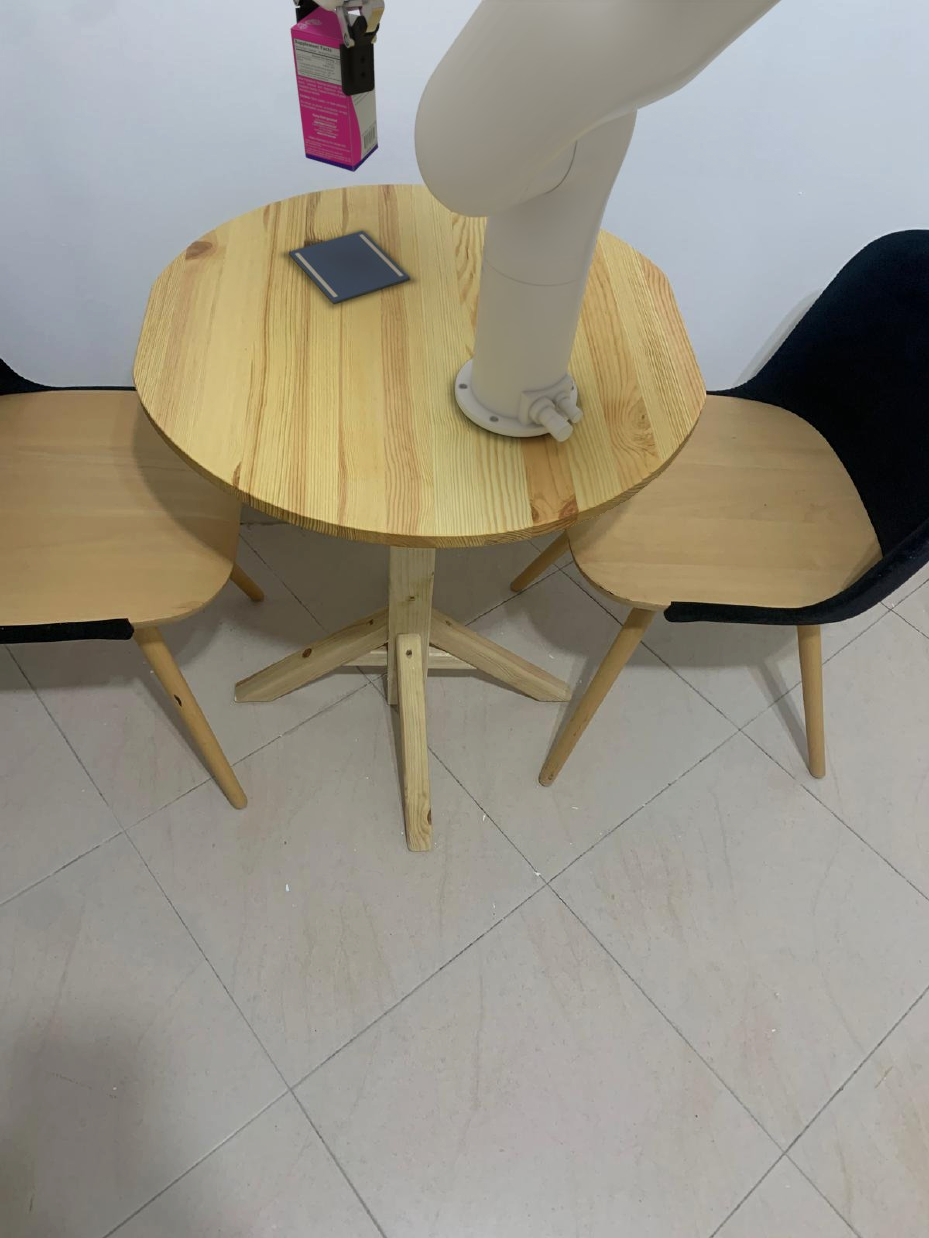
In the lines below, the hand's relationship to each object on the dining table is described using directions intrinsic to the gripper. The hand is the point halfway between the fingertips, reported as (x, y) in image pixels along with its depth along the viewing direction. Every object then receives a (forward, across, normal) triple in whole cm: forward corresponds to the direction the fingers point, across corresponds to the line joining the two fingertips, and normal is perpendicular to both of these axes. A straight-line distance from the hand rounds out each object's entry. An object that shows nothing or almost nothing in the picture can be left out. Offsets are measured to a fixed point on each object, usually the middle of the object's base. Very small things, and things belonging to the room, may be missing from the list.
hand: (336, 72), depth 74 cm
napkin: (+20, 0, 0) cm, 20 cm away
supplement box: (+8, 0, 0) cm, 8 cm away
